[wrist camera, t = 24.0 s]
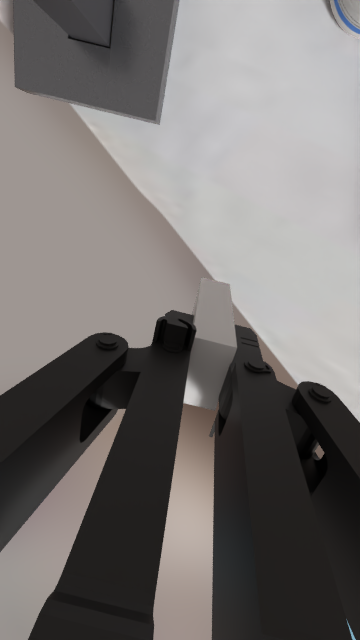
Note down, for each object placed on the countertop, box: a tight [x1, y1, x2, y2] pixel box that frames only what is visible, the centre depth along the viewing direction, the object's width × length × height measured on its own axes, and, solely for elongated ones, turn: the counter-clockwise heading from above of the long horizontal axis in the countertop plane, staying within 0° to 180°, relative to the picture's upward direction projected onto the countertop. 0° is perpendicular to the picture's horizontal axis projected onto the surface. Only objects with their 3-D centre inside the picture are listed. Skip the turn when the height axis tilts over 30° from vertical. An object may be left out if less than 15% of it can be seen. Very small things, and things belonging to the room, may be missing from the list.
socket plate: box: [13, 0, 179, 125], centre depth 31 cm, size 16×16×3 cm
